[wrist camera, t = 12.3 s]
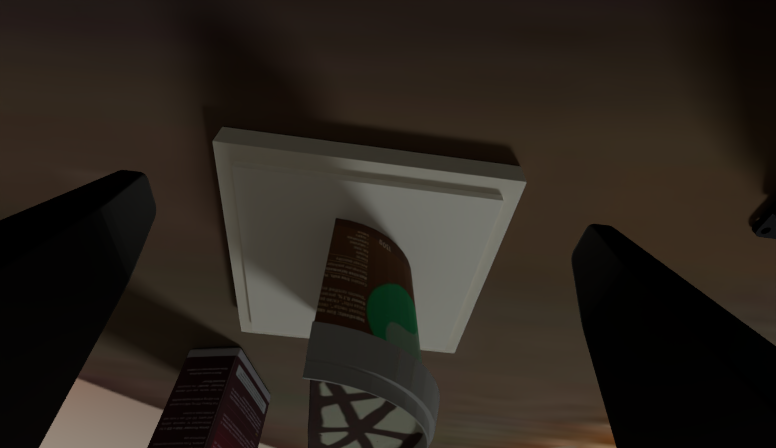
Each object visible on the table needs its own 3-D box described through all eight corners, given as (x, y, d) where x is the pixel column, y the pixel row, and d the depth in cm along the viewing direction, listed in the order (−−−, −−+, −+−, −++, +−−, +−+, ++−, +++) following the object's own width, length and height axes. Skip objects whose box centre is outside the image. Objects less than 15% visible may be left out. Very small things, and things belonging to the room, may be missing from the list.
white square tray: (520, 166, 23) (528, 187, 22) (452, 336, 33) (454, 359, 32) (222, 126, 22) (208, 146, 20) (247, 314, 32) (239, 337, 31)
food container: (412, 342, 31) (415, 500, 23) (327, 333, 30) (301, 491, 23) (451, 210, 23) (476, 386, 15) (337, 196, 22) (302, 369, 15)
